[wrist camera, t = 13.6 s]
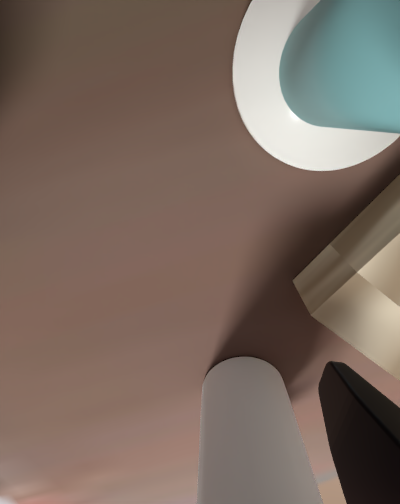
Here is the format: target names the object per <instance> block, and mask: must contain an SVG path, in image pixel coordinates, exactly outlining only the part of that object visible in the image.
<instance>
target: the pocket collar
mask: <svg viewBox="0 0 400 504" xmlns="http://www.w3.org/2000/svg"><path fill="white" fill-rule="evenodd" d="M293 283H294V285H295V287H296V289H297V290H298V292H299V294H300V296H301V298H302V300H303V302H304V304H305V306H306V308H307V310H308V312H309V313H310V315H311V316H312V317H314V318H315V319H316V320H318V321H319V322H320V323H322V324H323V325H324V326H326V327H327V328H328V329H330V330H331V331H333V332H334V333H335V334H337V335H338V336H339V337H341V338H342V339H343V340H345V341H346V342H348V343H349V344H350V345H352V346H353V347H354V348H356V349H357V350H358V351H360V352H361V353H362V354H364V355H365V356H367V357H368V358H369V359H371V360H372V361H373V362H375V363H376V364H377V365H379V366H380V367H382V368H383V369H384V370H386V371H387V372H388V373H390V374H391V375H392V376H394V377H395V378H396V379H398V380H399V381H400V174H399V175H398V176H397V177H396V178H395V179H394V180H393V181H392V182H391V183H390V184H389V185H388V186H387V187H386V188H385V189H384V190H383V191H382V192H381V193H380V194H379V195H378V196H377V197H376V198H375V199H374V200H373V201H372V202H371V203H370V204H369V205H368V206H367V207H366V208H365V209H364V210H363V211H362V212H361V213H360V214H359V215H358V216H357V217H356V218H355V219H354V220H353V221H352V222H351V223H350V224H349V225H348V226H347V227H346V228H345V229H344V230H343V231H342V232H341V233H340V234H339V235H338V236H337V237H336V238H335V239H334V240H333V241H332V242H331V243H330V244H329V245H328V246H327V247H326V248H325V249H324V250H323V251H322V252H321V253H320V254H319V255H318V256H317V257H316V258H315V259H314V260H313V261H312V262H311V263H310V264H309V265H308V266H307V267H306V268H305V269H304V270H303V271H302V272H301V273H300V274H299V275H298V276H297V277H296V278H295V279H294V280H293Z"/></svg>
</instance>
